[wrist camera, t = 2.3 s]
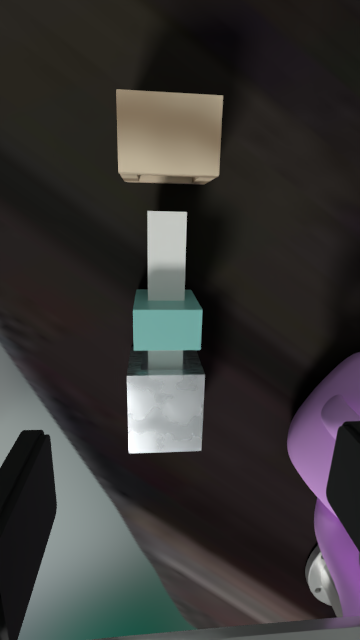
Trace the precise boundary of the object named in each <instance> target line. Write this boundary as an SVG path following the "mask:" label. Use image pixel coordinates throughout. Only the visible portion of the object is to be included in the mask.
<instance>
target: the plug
mask: <svg viewBox="0 0 360 640" xmlns="http://www.w3.org/2000/svg"><path fill="white" fill-rule="evenodd" d="M186 229H187V212H169V211H148V289H137V290H136V296H135V301H134V307H133V341H134V351H148V370H174V369H182V368H183V350H201V333H202V311H203V310H202V308H201V306H200V305H199V303H198V301H197V299H196V297H195V296H194V294H193V292H192V290H185V264H186Z"/></svg>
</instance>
